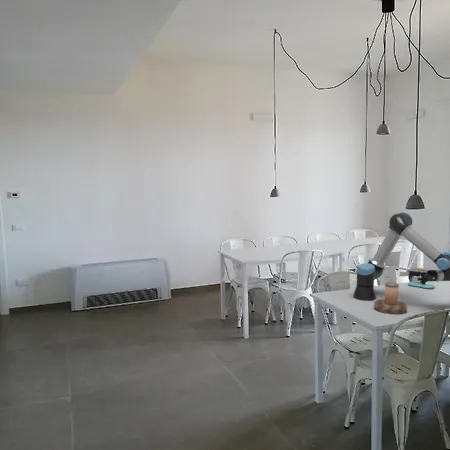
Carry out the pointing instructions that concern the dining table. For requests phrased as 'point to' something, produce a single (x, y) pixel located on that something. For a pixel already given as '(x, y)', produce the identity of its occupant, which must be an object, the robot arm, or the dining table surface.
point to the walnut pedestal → (390, 307)
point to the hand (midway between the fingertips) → (406, 276)
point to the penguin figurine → (421, 283)
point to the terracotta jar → (391, 293)
